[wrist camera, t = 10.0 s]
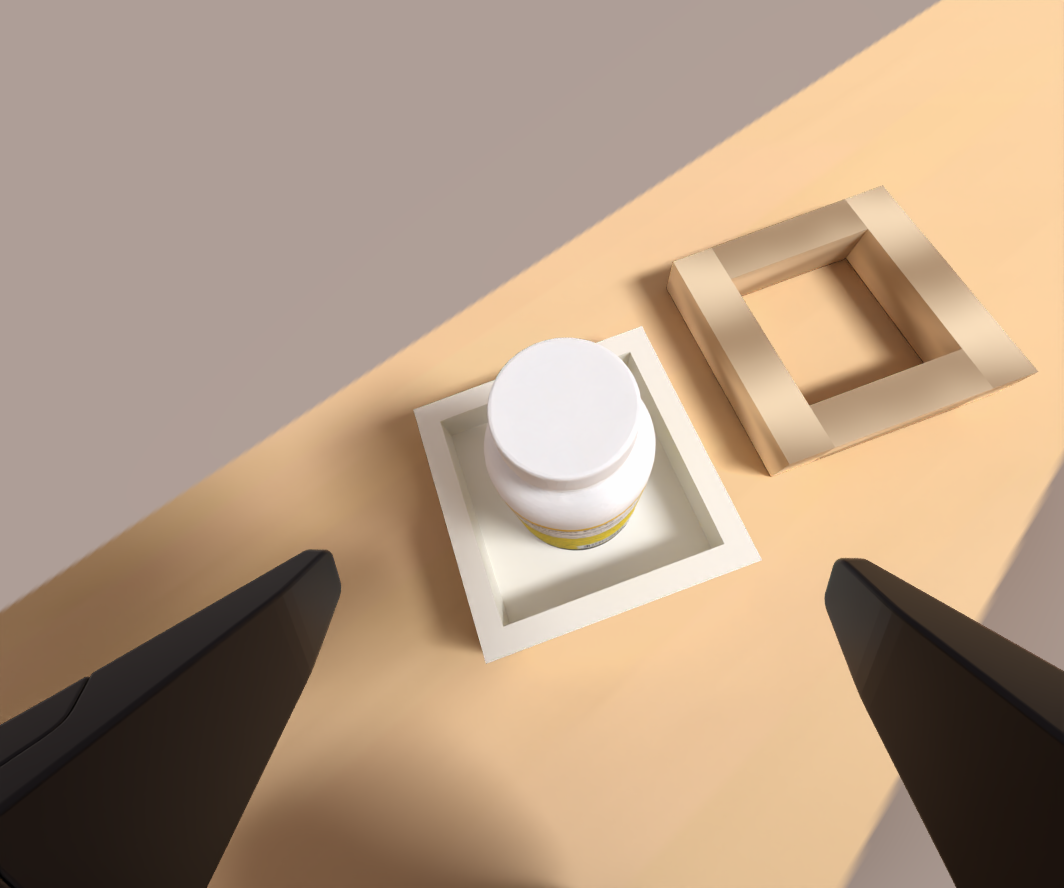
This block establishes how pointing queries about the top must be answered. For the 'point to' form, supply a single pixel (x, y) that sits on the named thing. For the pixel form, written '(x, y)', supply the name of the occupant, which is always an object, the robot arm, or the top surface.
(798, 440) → the wooden square frame
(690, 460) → the plastic tray
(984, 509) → the top surface
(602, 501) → the supplement bottle
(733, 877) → the top surface
